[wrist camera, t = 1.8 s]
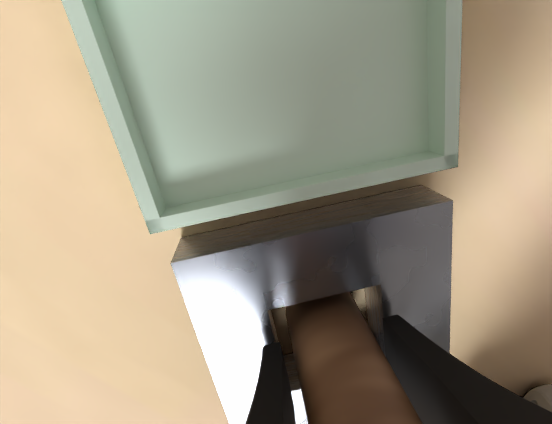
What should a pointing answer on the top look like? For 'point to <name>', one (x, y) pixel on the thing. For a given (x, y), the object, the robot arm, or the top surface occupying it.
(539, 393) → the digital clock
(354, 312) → the pin
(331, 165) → the tray
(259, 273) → the socket plate
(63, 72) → the top surface
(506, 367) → the top surface
